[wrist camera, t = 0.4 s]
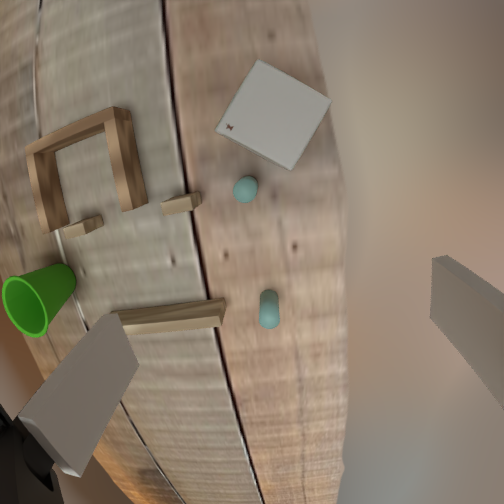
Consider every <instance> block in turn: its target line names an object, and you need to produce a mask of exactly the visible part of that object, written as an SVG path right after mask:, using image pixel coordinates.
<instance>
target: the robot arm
mask: <svg viewBox="0 0 504 504" xmlns="http://www.w3.org/2000/svg"><path fill="white" fill-rule="evenodd" d="M430 318H431V320H432V321H433V322H434V323H435V324H436V325H437V326H438V328H439V329H440V330H441V331H442V332H443V333H444V335H446V337H447V338H448V339H449V340H450V342H451V343H452V344H453V345H454V346H455V348H456V349H457V350H458V351H459V352H460V354H461V355H462V356H463V357H464V359H465V360H466V361H467V362H468V364H469V365H470V366H471V367H472V369H473V370H474V371H475V372H476V374H477V375H478V376H479V377H480V379H481V380H482V381H483V383H484V384H485V385H486V387H487V388H488V389H489V391H490V392H491V393H492V395H493V396H494V397H495V399H496V400H497V401H498V403H499V404H500V406H501V407H502V408H503V410H504V294H503V293H502V292H501V291H499V290H498V289H496V288H495V287H493V286H492V285H491V284H489V283H488V282H487V281H485V280H483V279H482V278H481V277H479V276H478V275H476V274H475V273H474V272H472V271H471V270H469V269H468V268H466V267H465V266H463V265H462V264H460V263H459V262H457V261H456V260H454V259H452V258H451V257H449V256H448V255H445V256H440V257H436V258H432V287H431V308H430ZM138 367H139V363H138V361H137V358H136V356H135V354H134V352H133V349H132V347H131V345H130V343H129V340H128V338H127V336H126V333H125V331H124V328H123V326H122V323H121V321H120V318H119V316H118V313H114V314H106V315H103V316H102V317H101V318H100V319H99V320H98V321H97V322H96V323H95V325H94V326H93V327H92V328H91V329H90V330H89V331H88V332H87V333H86V335H85V336H84V337H83V338H82V339H81V340H80V341H79V342H78V343H77V345H76V346H75V347H74V348H73V349H72V350H71V351H70V353H69V354H68V355H67V356H66V357H65V358H64V360H63V361H62V362H61V363H60V364H59V365H58V367H57V368H56V369H55V370H54V371H53V372H52V374H51V375H50V376H49V377H48V378H47V380H45V382H44V383H43V384H42V385H41V386H40V388H39V389H38V391H36V392H35V394H34V395H33V397H32V398H31V399H30V400H29V401H28V402H27V404H26V405H25V406H24V407H23V409H22V410H21V411H20V412H19V414H18V415H17V416H16V418H15V419H14V420H13V421H12V420H11V418H10V417H9V415H8V414H7V413H6V411H5V410H4V408H3V407H2V405H1V404H0V504H64V501H63V498H62V494H61V490H60V487H59V482H58V478H57V475H56V473H55V471H54V470H53V469H52V466H53V464H54V463H56V464H57V465H58V467H59V468H60V469H61V470H62V471H63V472H64V473H67V474H70V475H74V476H78V477H81V476H82V474H83V472H84V470H85V467H86V465H87V463H88V461H89V460H90V458H91V456H92V454H93V452H94V450H95V448H96V446H97V444H98V442H99V440H100V438H101V436H102V434H103V432H104V430H105V428H106V426H107V424H108V422H109V421H110V419H111V417H112V415H113V413H114V411H115V409H116V407H117V405H118V404H119V402H120V400H121V398H122V396H123V394H124V392H125V391H126V389H127V387H128V385H129V383H130V381H131V379H132V378H133V376H134V374H135V372H136V370H137V369H138Z"/></svg>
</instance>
